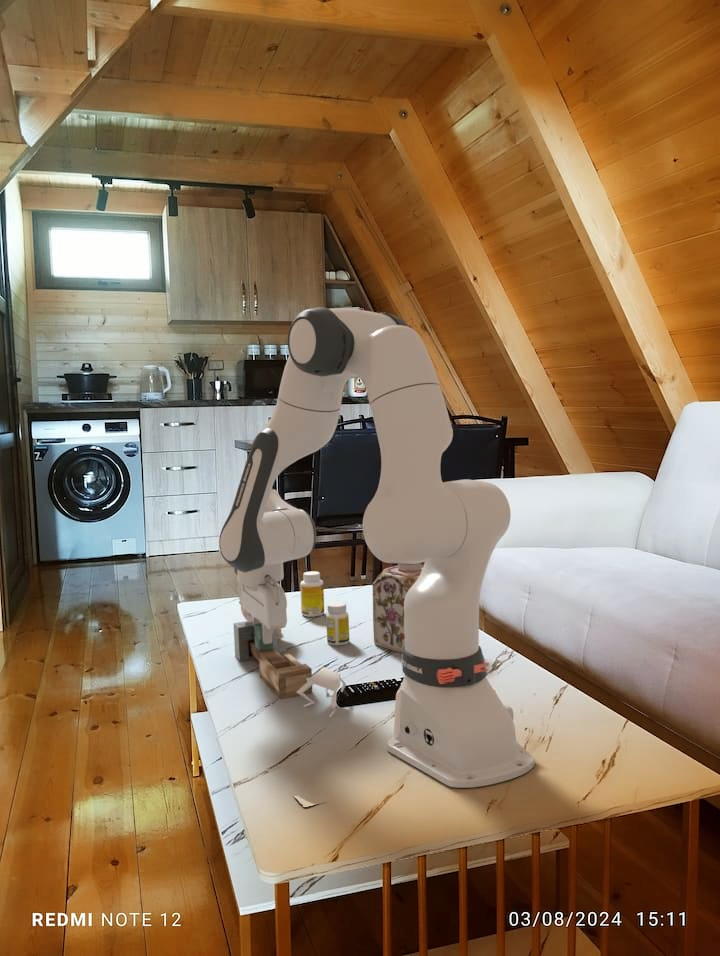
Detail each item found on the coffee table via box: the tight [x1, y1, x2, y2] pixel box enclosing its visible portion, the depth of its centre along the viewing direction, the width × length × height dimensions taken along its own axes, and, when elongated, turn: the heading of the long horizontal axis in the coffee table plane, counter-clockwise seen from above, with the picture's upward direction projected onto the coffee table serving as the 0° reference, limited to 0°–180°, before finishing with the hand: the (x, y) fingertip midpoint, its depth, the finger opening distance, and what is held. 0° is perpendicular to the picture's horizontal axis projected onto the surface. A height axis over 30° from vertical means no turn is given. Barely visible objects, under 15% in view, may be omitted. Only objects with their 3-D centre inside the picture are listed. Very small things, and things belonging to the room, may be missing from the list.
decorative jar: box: [372, 562, 424, 654], centre depth 162 cm, size 12×12×18 cm
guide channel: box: [258, 653, 313, 700], centre depth 142 cm, size 12×6×4 cm, turn 24°
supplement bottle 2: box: [325, 601, 350, 646], centre depth 166 cm, size 5×5×8 cm
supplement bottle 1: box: [300, 570, 325, 618], centre depth 188 cm, size 6×6×10 cm
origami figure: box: [296, 666, 347, 718], centre depth 132 cm, size 12×8×5 cm
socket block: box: [233, 620, 279, 662], centre depth 159 cm, size 4×8×7 cm, turn 114°
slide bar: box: [248, 623, 288, 669], centre depth 152 cm, size 16×3×7 cm, turn 24°
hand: (263, 639), depth 153 cm, fingers closed on slide bar, 3 cm apart
